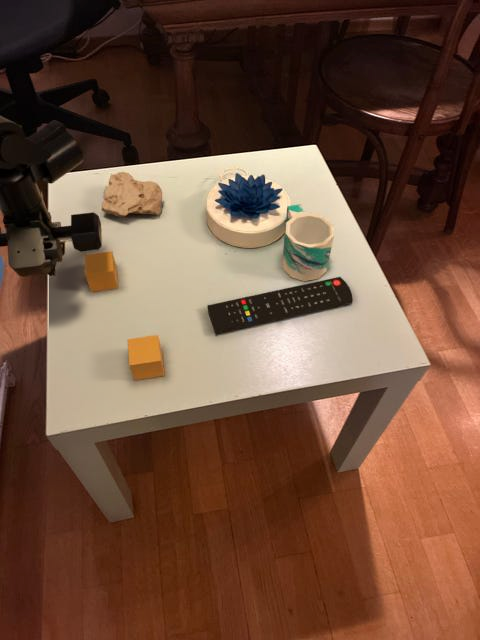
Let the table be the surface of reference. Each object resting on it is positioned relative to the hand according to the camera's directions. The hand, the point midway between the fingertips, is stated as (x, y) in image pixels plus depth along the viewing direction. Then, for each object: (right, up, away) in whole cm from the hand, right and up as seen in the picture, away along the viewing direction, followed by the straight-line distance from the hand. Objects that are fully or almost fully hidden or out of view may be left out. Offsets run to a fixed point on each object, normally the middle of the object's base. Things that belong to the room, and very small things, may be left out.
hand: (53, 274), depth 79 cm
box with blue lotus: (+32, +13, +14) cm, 37 cm away
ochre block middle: (+7, -1, +4) cm, 8 cm away
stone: (+10, +15, +15) cm, 23 cm away
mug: (+42, +4, +8) cm, 43 cm away
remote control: (+38, -6, +1) cm, 38 cm away
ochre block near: (+17, -14, -6) cm, 23 cm away
